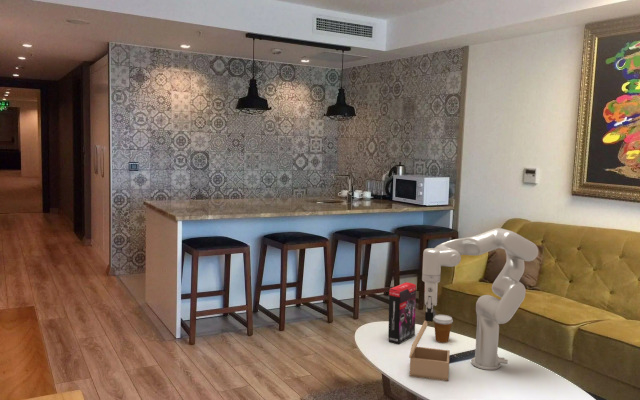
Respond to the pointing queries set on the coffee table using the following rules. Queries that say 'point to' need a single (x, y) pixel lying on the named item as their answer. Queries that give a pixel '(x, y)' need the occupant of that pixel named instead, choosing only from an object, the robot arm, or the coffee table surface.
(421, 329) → the carton lid
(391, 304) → the graphics card box
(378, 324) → the coffee table surface
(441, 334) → the disposable coffee cup
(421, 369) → the carton
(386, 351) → the coffee table surface
